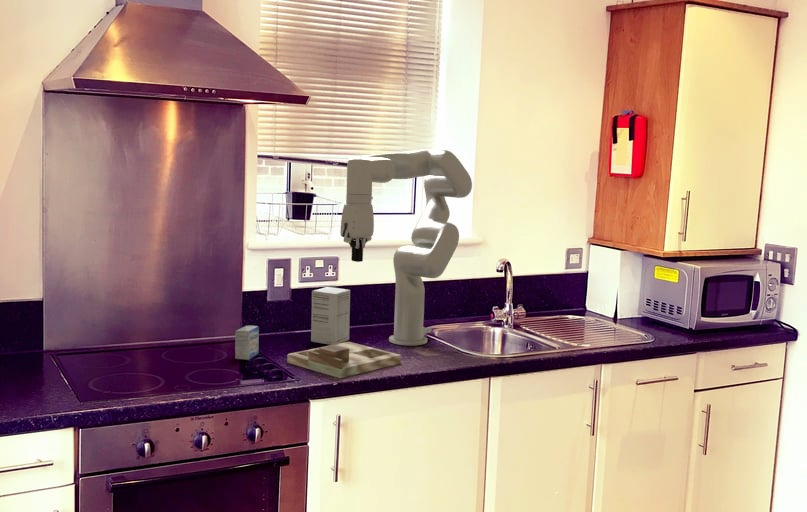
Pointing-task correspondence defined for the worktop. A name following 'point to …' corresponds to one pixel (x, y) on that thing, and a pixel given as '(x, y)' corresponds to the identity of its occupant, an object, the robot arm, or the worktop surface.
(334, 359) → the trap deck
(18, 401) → the worktop surface
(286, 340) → the worktop surface
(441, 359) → the worktop surface
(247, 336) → the medicine box
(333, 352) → the walnut block
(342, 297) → the supplement box
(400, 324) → the robot arm
